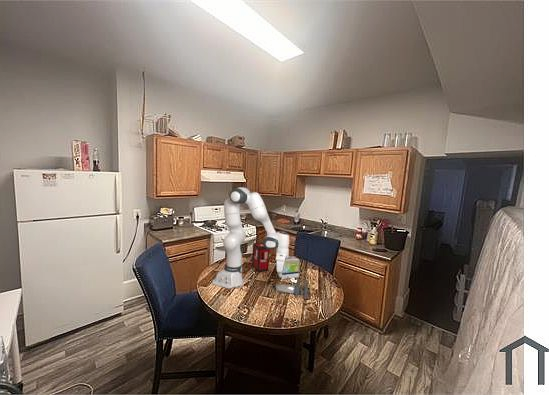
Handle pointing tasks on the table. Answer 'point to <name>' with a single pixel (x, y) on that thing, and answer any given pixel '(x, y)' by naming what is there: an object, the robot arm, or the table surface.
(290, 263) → the tea box
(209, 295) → the table surface
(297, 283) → the collars
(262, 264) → the cleaning product box
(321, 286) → the table surface
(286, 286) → the tube
